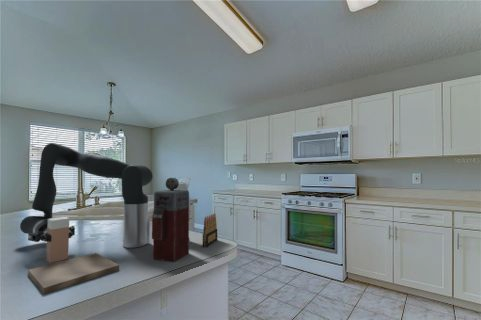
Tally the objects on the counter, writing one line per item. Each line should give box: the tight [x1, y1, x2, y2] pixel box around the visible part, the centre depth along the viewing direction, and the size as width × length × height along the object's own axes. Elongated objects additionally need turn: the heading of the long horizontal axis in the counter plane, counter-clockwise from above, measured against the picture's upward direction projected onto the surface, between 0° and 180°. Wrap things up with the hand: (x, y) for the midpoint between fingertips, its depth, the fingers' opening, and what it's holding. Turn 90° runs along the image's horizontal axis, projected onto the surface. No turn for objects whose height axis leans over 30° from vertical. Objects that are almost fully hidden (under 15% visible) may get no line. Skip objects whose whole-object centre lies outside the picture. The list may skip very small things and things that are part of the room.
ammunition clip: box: [202, 212, 218, 249], centre depth 98 cm, size 11×2×12 cm, turn 161°
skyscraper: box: [174, 177, 191, 243], centre depth 101 cm, size 8×8×28 cm
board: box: [27, 252, 120, 295], centre depth 70 cm, size 18×18×2 cm
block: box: [45, 216, 70, 264], centre depth 81 cm, size 5×5×14 cm
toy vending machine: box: [151, 177, 190, 263], centre depth 82 cm, size 9×11×28 cm
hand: (60, 236), depth 80 cm, fingers closed on block, 5 cm apart
